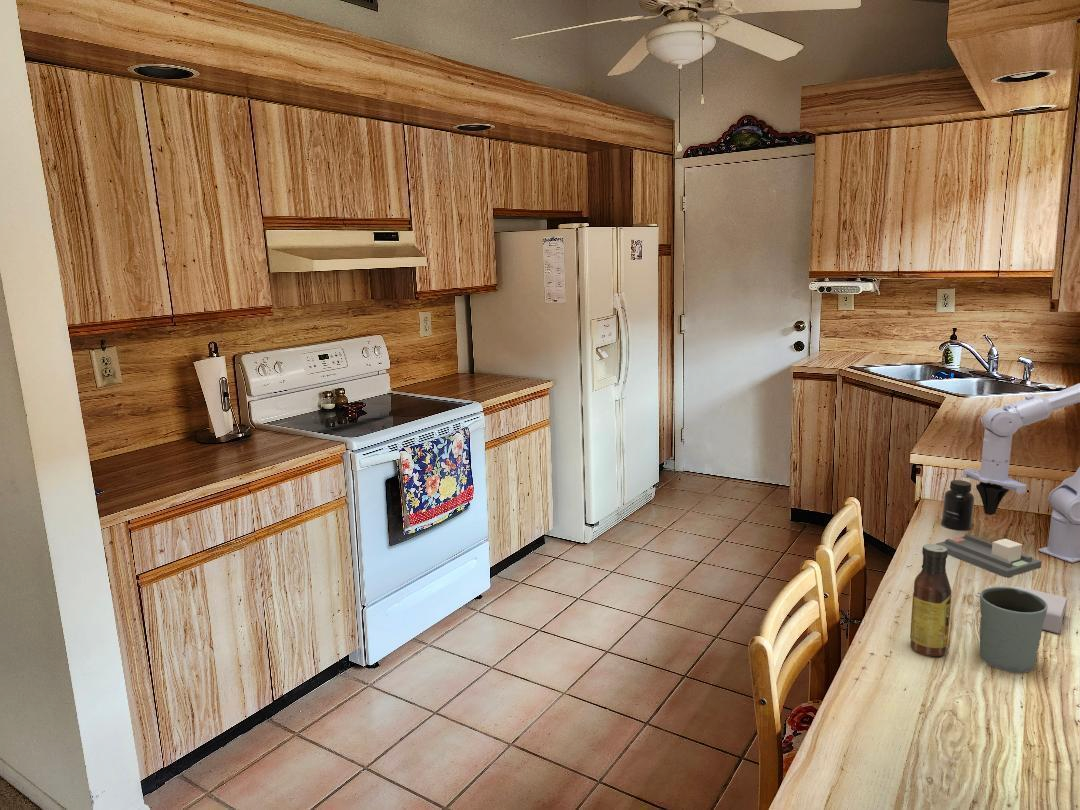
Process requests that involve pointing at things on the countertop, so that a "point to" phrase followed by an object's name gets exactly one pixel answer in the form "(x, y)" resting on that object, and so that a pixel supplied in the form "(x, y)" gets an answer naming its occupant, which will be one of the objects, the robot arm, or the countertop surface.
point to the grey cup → (1010, 628)
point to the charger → (1050, 609)
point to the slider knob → (1007, 550)
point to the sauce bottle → (931, 603)
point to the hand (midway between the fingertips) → (989, 513)
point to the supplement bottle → (958, 506)
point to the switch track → (987, 556)
